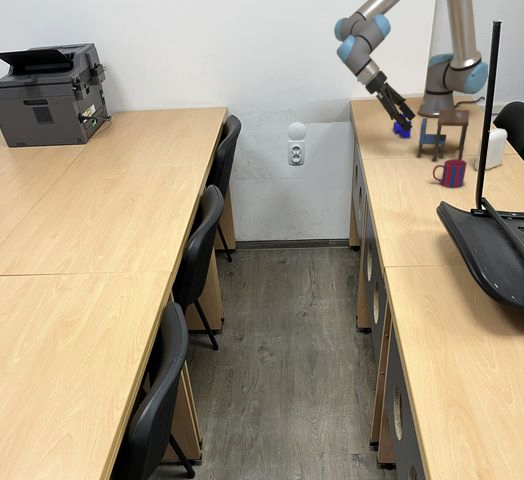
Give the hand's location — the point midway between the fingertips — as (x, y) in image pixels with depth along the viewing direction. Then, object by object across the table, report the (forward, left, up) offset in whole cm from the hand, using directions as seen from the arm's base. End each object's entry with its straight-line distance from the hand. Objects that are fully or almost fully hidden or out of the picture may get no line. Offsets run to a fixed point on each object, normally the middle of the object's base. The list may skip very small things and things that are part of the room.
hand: (411, 124), depth 188 cm
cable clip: (-13, -20, -11) cm, 26 cm away
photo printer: (-12, +27, -11) cm, 31 cm away
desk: (-10, +10, -10) cm, 18 cm away
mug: (+9, +30, -11) cm, 33 cm away
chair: (-6, +6, -10) cm, 13 cm away
